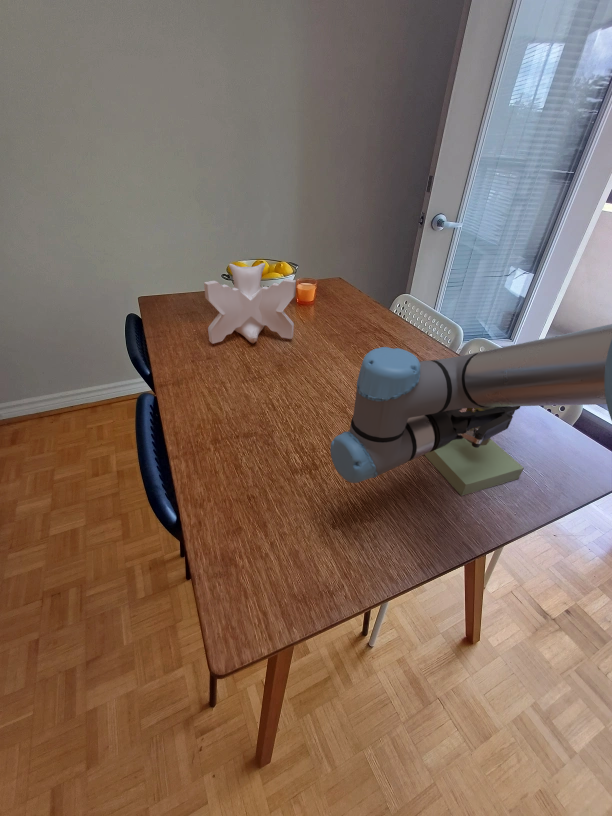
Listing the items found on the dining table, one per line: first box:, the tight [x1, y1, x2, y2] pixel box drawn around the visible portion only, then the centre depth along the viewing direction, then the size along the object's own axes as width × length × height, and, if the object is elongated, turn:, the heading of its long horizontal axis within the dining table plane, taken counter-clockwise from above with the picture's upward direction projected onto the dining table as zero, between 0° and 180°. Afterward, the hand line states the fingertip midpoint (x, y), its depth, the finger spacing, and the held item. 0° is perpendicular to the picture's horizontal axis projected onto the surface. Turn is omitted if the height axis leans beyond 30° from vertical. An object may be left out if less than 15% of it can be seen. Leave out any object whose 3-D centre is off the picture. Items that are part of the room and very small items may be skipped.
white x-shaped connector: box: [203, 262, 297, 345], centre depth 118 cm, size 25×21×21 cm
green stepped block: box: [423, 438, 525, 497], centre depth 79 cm, size 14×14×6 cm
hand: (509, 395), depth 74 cm, fingers closed on grenade, 4 cm apart
